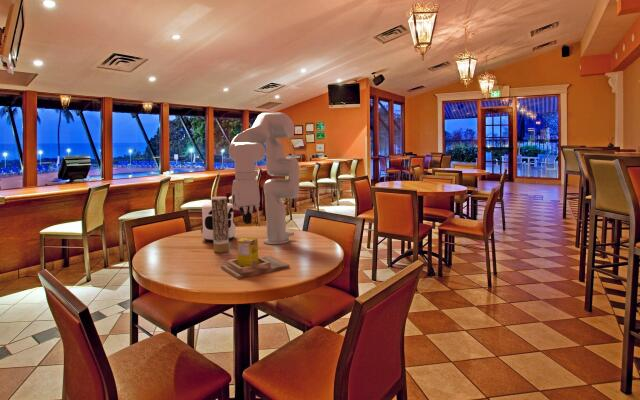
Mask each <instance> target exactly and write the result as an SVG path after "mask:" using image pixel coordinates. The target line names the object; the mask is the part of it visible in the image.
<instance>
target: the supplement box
mask: <svg viewBox="0 0 640 400" xmlns="http://www.w3.org/2000/svg"><path fill="white" fill-rule="evenodd" d="M258 241H259V239H258V237H257V238H256V237H247V236H246V237H242V238H240V239H237V240H236V247H237V248H236V249H237V251H236V252H237V259H238V266H240V267H246V266H251V265H256V264H258V257H259V245H258V244H259V242H258Z"/></svg>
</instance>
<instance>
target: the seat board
mask: <svg viewBox="0 0 640 400" xmlns="http://www.w3.org/2000/svg"><path fill="white" fill-rule="evenodd" d="M225 263H226V264H222V265H220V268H221V269H222V270H223V271H225V272H226V273H227V274H229V275H231V276H233V277H234V278H236V279H237V280H241V279H245V278H249V277H253V276H258V275H262V274H267V273H272V272H276V271H277V272H278V271H280V270H284V269H290V264H288V263H286V262H284V261H282V260H279V259H278V258H276V257H273V256H272V255H268V256H262V257H261V256H258V264H256V265H251V266H246V267H240V266H238V258H233V259H227V260H225Z"/></svg>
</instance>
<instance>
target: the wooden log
mask: <svg viewBox="0 0 640 400" xmlns="http://www.w3.org/2000/svg"><path fill="white" fill-rule="evenodd" d="M211 203H212V219H213V240H214V241H213V251H214V252H215V253H218V254H219V253H220V254H221V253H227V252H229V250H230V242H229V241H230V239H229V234H228V210H227V203H228V197H227V196H212V197H211Z"/></svg>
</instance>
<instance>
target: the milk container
mask: <svg viewBox="0 0 640 400" xmlns="http://www.w3.org/2000/svg"><path fill="white" fill-rule="evenodd" d="M233 206H234V205H233V204H232V203H229V202H227V210H228V234H229V240H232V239H233V238H235V236H236V233H237V229H236V228H237V227H236V225H235V220H234V209H233ZM201 213H202V214H201V215H202V225H201V229H200V231H201V232H200V233H201V236H202V239H203V240H205V241H209V242H214V240H213V219H212V202H211V203H206V204H203V205H202V206H201Z"/></svg>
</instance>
